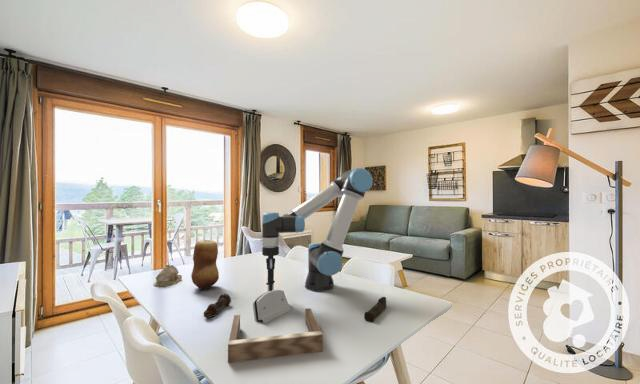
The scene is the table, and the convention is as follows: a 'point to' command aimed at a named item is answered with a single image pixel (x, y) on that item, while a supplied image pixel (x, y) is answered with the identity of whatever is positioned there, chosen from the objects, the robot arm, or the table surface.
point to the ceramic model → (168, 276)
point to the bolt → (217, 305)
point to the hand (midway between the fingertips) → (270, 297)
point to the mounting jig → (275, 342)
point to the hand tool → (375, 310)
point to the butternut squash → (205, 264)
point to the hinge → (270, 305)
